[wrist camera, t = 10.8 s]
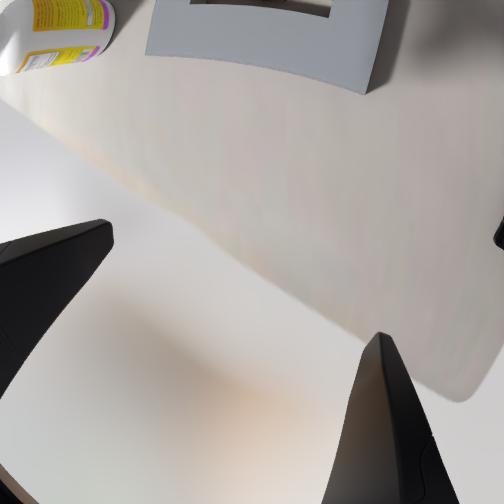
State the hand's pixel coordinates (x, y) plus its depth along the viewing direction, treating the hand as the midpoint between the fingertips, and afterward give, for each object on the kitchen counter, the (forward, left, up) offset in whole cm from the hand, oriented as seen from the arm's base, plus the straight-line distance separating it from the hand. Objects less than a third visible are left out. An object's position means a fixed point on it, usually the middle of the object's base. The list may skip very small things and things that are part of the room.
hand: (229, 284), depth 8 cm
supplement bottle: (+22, -9, -13) cm, 27 cm away
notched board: (+5, -12, -13) cm, 18 cm away
